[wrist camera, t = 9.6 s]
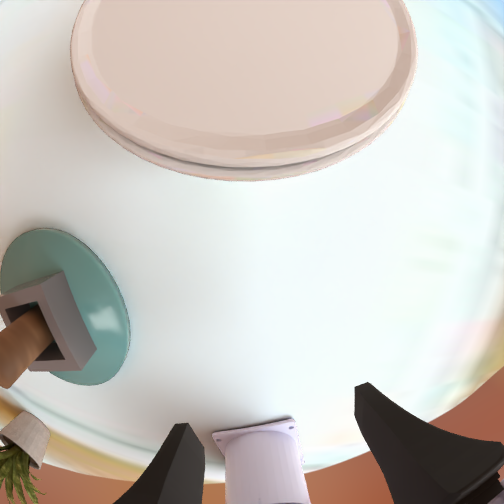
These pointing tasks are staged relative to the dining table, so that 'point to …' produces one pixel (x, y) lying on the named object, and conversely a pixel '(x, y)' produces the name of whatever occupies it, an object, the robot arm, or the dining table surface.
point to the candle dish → (67, 305)
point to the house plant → (22, 454)
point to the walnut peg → (22, 344)
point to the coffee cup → (243, 80)
